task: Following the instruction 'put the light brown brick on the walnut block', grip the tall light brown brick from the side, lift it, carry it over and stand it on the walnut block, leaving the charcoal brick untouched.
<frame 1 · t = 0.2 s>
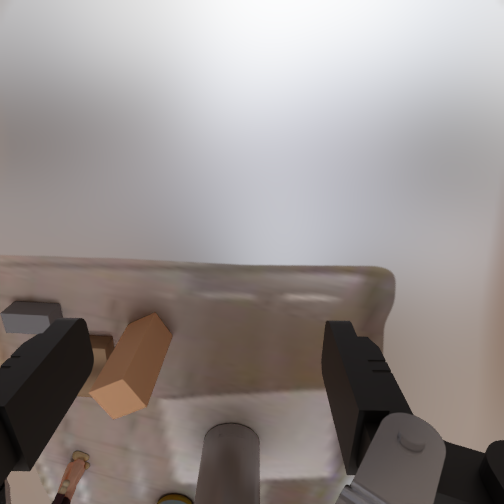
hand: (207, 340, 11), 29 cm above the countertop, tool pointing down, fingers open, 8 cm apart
walnut block: (86, 357, 49), on the countertop
light brown brick: (150, 329, 46), on the countertop
charcoal brick: (40, 311, 46), on the countertop
grandmother figurine: (81, 460, 58), on the countertop
bottle: (176, 502, 63), on the countertop
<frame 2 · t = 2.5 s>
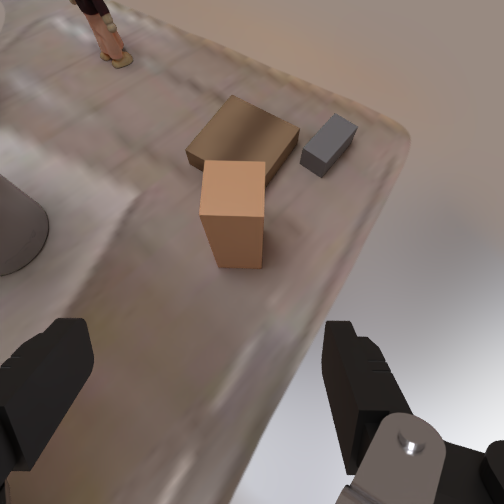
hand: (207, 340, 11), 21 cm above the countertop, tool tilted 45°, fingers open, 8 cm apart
walnut block: (244, 155, 39), on the countertop
light brown brick: (240, 247, 35), on the countertop
charcoal brick: (325, 154, 39), on the countertop
grandmother figurine: (114, 56, 44), on the countertop
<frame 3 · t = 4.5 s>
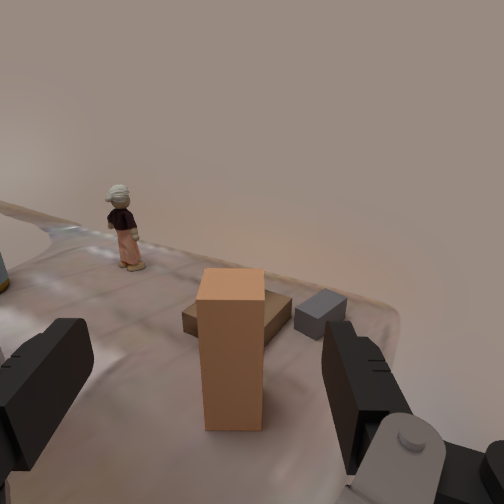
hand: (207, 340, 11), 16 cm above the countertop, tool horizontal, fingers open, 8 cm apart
walnut block: (239, 326, 39), on the countertop
light brown brick: (235, 407, 28), on the countertop
charcoal brick: (319, 324, 39), on the countertop
grandmother figurine: (130, 265, 53), on the countertop
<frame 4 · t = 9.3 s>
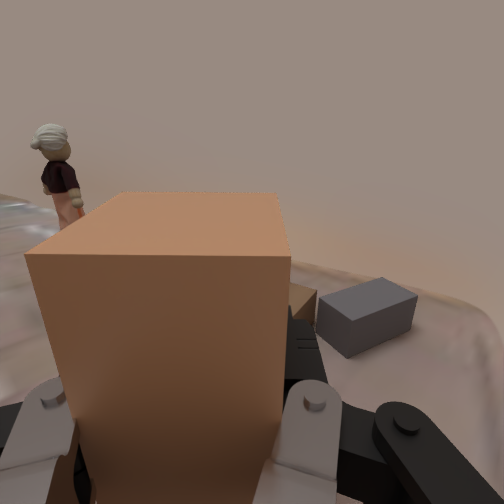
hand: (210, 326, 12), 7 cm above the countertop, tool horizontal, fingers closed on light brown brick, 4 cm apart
walnut block: (227, 337, 23), on the countertop
charcoal brick: (362, 333, 23), on the countertop
grandmother figurine: (76, 248, 37), on the countertop
when the fingers open (11 cm above the countertop, at t = 14.2 s): light brown brick drops 2 cm, resting on walnut block.
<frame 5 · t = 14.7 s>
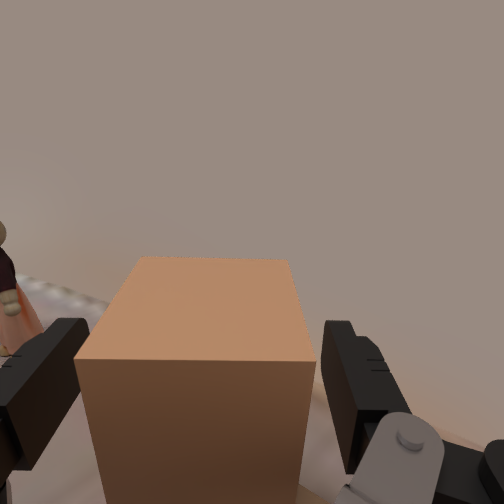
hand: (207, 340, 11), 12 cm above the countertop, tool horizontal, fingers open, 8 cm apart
grandmother figurine: (22, 350, 28), on the countertop
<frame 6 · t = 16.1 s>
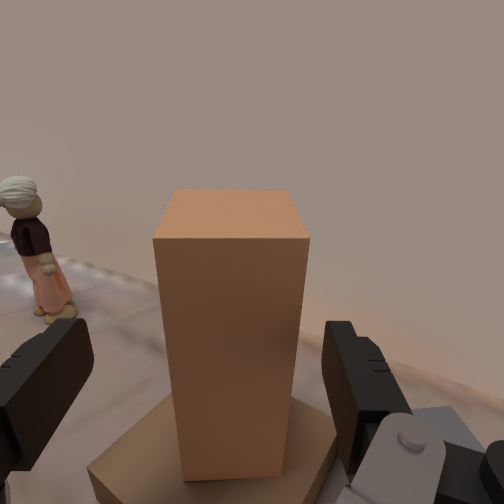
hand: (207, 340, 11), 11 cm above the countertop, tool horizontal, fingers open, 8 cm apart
walnut block: (224, 481, 18), on the countertop, touching light brown brick
light brown brick: (232, 432, 17), point 3 cm above the countertop, touching walnut block
charcoal brick: (402, 474, 18), on the countertop
grandmother figurine: (54, 311, 32), on the countertop
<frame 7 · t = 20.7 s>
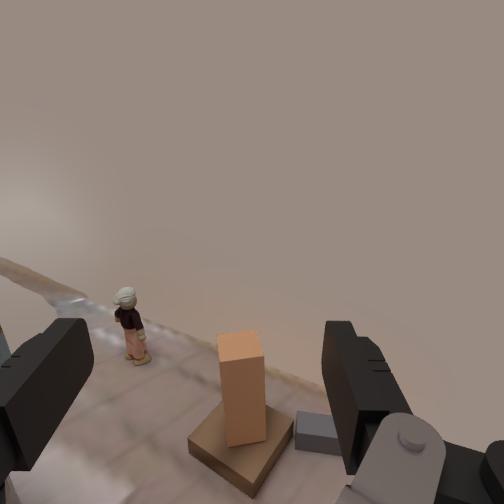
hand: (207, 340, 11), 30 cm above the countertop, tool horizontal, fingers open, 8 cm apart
walnut block: (242, 446, 40), on the countertop, touching light brown brick
light brown brick: (244, 427, 39), point 3 cm above the countertop, touching walnut block
charcoal brick: (320, 442, 41), on the countertop
grandmother figurine: (136, 356, 54), on the countertop
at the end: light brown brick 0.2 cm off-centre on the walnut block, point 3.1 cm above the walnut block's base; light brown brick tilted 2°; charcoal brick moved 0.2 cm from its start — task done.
